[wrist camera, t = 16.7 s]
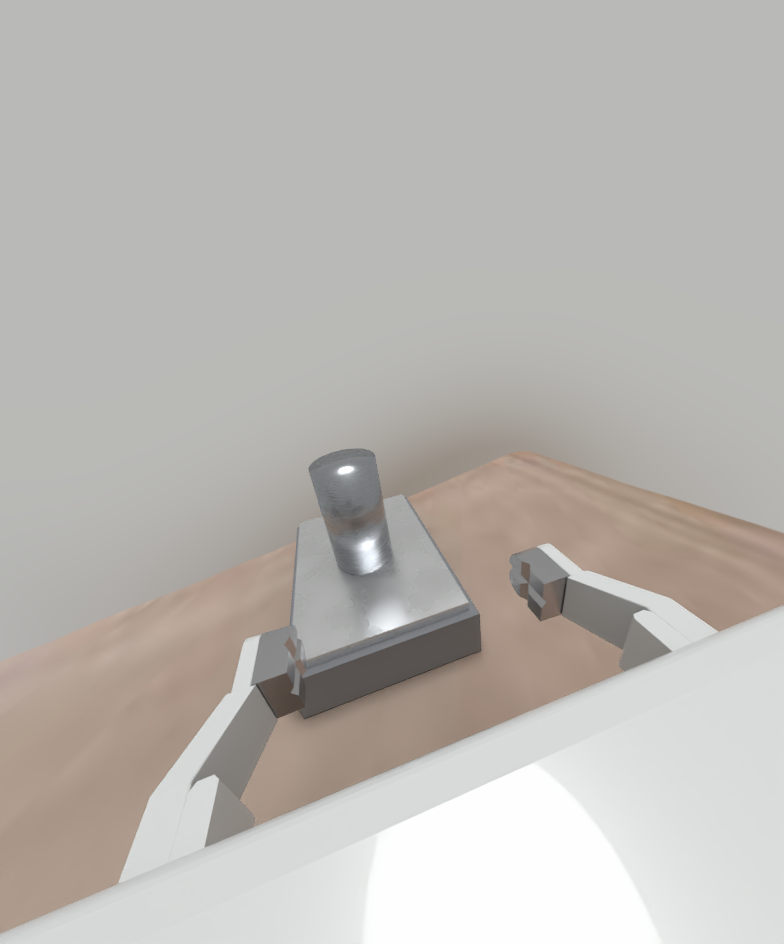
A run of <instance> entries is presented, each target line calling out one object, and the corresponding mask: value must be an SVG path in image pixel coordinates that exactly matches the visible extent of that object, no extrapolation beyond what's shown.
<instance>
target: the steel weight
mask: <svg viewBox="0 0 784 944" xmlns="http://www.w3.org/2000/svg"><path fill="white" fill-rule="evenodd" d="M309 473H310V476H311V479H312V483H313V486H314V489H315V493H316V496H317V499H318V503H319V506H320V509H321V512H322V516H323V519H324V523H325V526H326V529H327V532H328V536H329V539H330V542H331V546H332V549H333V552H334V556H335V559H336V562H337V565H338V567H339V568H340V569H341V570H342V571H344V572H346V573H348V574H352V575H363V574H368V573H371V572H374V571H376V570H378V569H379V568H381V567H382V566H384V565H385V564H386V563H387V562H388V560H389V559H390V557H391V554H392V546H391V540H390V535H389V529H388V524H387V518H386V513H385V508H384V502H383V497H382V491H381V486H380V481H379V475H378V470H377V464H376V459H375V455H374V453H373V452H371V451H369V450H366V449H346V450H340V451H337V452H333V453H330V454H327V455H325V456H322V457H320V458H318V459H317V460H315V461H314V462H313V463H312V464H311V465H310V467H309Z"/></svg>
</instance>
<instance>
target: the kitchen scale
mask: <svg viewBox="0 0 784 944" xmlns="http://www.w3.org/2000/svg"><path fill="white" fill-rule="evenodd" d="M383 502H384V508H385V513H386V518H387V524H388V529H389V535H390V540H391V546H392V554H391V557H390V559H389V560H388V562H387V563H386V564H385V565H384V566H382V567H381V568H379V569H378V570H376V571H374V572H371V573H368V574H363V575H352V574H348V573H346V572H344V571H342V570H341V569H340V568H339V567H338V565H337V562H336V559H335V556H334V552H333V549H332V546H331V542H330V539H329V536H328V532H327V529H326V526H325V523H324V519H323V517H319V518H316V519H312V520H308V521H305V522H301V523H300V527H298V530H297V542H296V554H295V566H294V578H293V591H292V603H291V615H290V626H291V625H294V626H295V628H296V630H297V638H298V639H300V640H302V643H303V645H304V649H305V655H306V671H305V673H304V675H303V676H302V678H303V680H304V682H305V684H306V691H305V708H302V709H300V712H301V714H302V715H303V717H304V719H305V718H308V717H310V716H313V715H315V714H318V713H321V712H323V711H326V710H328V709H331V708H334V707H336V706H339V705H341V704H344V703H346V702H349V701H352V700H354V699H357V698H359V697H362V696H364V695H367V694H370V693H372V692H375V691H377V690H380V689H383V688H385V687H388V686H390V685H393V684H395V683H398V682H401V681H403V680H406V679H408V678H411V677H413V676H416V675H419V674H421V673H424V672H426V671H429V670H432V669H434V668H437V667H439V666H442V665H444V664H447V663H450V662H452V661H455V660H457V659H460V658H462V657H465V656H468V655H470V654H473V653H475V652H478V651H481V633H480V614H479V612H478V610H477V609H476V607H475V606H474V604H473V602H472V601H471V599H470V598H469V596H468V595H467V593H466V591H465V590H464V588H463V587H462V585H461V583H460V582H459V580H458V579H457V577H456V575H455V574H454V572H453V571H452V569H451V567H450V566H449V564H448V563H447V561H446V559H445V558H444V556H443V555H442V553H441V552H440V550H439V548H438V547H437V545H436V544H435V542H434V540H433V539H432V537H431V536H430V534H429V532H428V531H427V529H426V528H425V526H424V524H423V523H422V521H421V520H420V518H419V517H418V515H417V513H416V512H415V510H414V509H413V507H412V505H411V504H410V502H409V501H408V499H407V497H404V496H403V494H401V495H398V496H395V497H391V498H387V499H383Z"/></svg>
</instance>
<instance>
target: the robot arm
mask: <svg viewBox="0 0 784 944" xmlns="http://www.w3.org/2000/svg"><path fill="white" fill-rule="evenodd" d="M510 563H511V565H512V566H513V567H512V569H511V570H510V581H511V584H512V586H513V588H514V590H515V591H516V592H517V594H518V595H519V596H520V597H522V598H524V599H527V602H528V607H529V608H530V609H531V611H532V612H533V613H534V614H535V615H536V617H537V618H538V619H539V620H540V621H543V620H546V619H549V618H552V617H555V616H558V615H561V614H562V616H564V617H565V618H567V619H569V620H571V621H572V622H574V623H576V624H578V625H580V626H581V627H583V628H585V629H587V630H589V631H590V632H592V633H594V634H596V635H597V636H599V637H601V638H603V639H605V640H606V641H608V642H610V643H612V644H614V645H615V646H617V647H619V648H621V649H622V653H621V657H620V660H619V666H620V667H621V669H622V670H623V671H624V672H622V673H620V674H617V675H615V676H612V677H610V678H608V679H605V680H603V681H600V682H598V683H596V684H593V685H591V686H589V687H586V688H584V689H581V690H579V691H577V692H574V693H572V694H569V695H567V696H565V697H562V698H560V699H557V700H555V701H553V702H550V703H548V704H546V705H543V706H541V707H538V708H536V709H534V710H531V711H529V712H526V713H524V714H522V715H519V716H517V717H515V718H512V719H510V720H507V721H505V722H503V723H500V724H498V725H495V726H493V727H491V728H488V729H486V730H484V731H481V732H479V733H476V734H474V735H472V736H469V737H467V738H465V739H462V740H460V741H457V742H455V743H453V744H450V745H448V746H445V747H443V748H441V749H438V750H436V751H434V752H431V753H429V754H426V755H424V756H422V757H419V758H417V759H415V760H412V761H410V762H407V763H405V764H403V765H400V766H398V767H395V768H393V769H391V770H388V771H386V772H384V773H381V774H379V775H376V776H374V777H372V778H369V779H367V780H364V781H362V782H360V783H357V784H355V785H353V786H350V787H348V788H345V789H343V790H341V791H338V792H336V793H334V794H331V795H329V796H326V797H324V798H322V799H319V800H317V801H314V802H312V803H310V804H307V805H305V806H303V807H300V808H298V809H295V810H293V811H291V812H288V813H286V814H283V815H281V816H279V817H276V818H274V819H272V820H269V821H267V822H264V823H262V824H260V825H257V826H255V827H254V822H255V816H254V815H253V814H252V812H251V811H250V810H249V809H248V808H247V807H246V806H245V805H244V804H243V803H242V802H241V801H240V798H241V796H242V794H243V791H244V789H245V787H246V785H247V783H248V781H249V779H250V777H251V775H252V773H253V771H254V769H255V766H256V764H257V762H258V760H259V758H260V756H261V754H262V752H263V750H264V748H265V746H266V743H267V741H268V739H269V737H270V735H271V733H272V731H273V729H274V727H275V725H276V723H277V718H280V717H282V716H285V715H287V714H290V713H292V712H295V711H297V710H300V709H302V708H305V691H306V684H305V682H304V680H303V678H302V676H303V675H304V673H305V671H306V655H305V649H304V645H303V643H302V640H300V639H298V638H297V630H296V628H295V626H294V625H291V626H287V627H284V628H281V629H277V630H274V631H270V632H267V633H263V634H261V635H257V636H254V637H251V638H247V639H246V640H245V642H244V644H243V646H242V650H241V654H240V659H239V663H238V667H237V671H236V675H235V679H234V683H233V687H232V691H231V693H229V694H227V695H225V697H224V698H223V699H222V701H221V702H220V703H219V705H218V706H217V707H216V709H215V710H214V712H213V713H212V714H211V716H210V717H209V718H208V720H207V721H206V722H205V724H204V725H203V726H202V728H201V729H200V730H199V732H198V733H197V734H196V736H195V737H194V739H193V740H192V741H191V743H190V744H189V745H188V747H187V748H186V749H185V751H184V752H183V753H182V755H181V756H180V757H179V759H178V760H177V761H176V763H175V764H174V766H173V767H172V768H171V770H170V771H169V772H168V774H167V775H166V776H165V778H164V779H163V780H162V782H161V783H160V784H159V786H158V787H157V788H156V790H155V791H154V793H153V794H152V795H151V797H150V799H149V801H148V804H147V807H146V809H145V812H144V815H143V818H142V820H141V823H140V826H139V828H138V831H137V834H136V836H135V839H134V842H133V845H132V847H131V850H130V853H129V855H128V858H127V861H126V863H125V866H124V869H123V872H122V874H121V877H120V880H119V882H118V884H117V885H114V886H112V887H109V888H107V889H105V890H102V891H100V892H97V893H95V894H93V895H90V896H88V897H86V898H83V899H81V900H78V901H76V902H74V903H71V904H69V905H67V906H64V907H62V908H59V909H57V910H55V911H52V912H50V913H47V914H45V915H43V916H40V917H38V918H36V919H33V920H31V921H28V922H26V923H24V924H21V925H19V926H17V927H14V928H12V929H9V930H7V931H5V932H2V933H0V944H784V605H782V606H779V607H777V608H775V609H772V610H770V611H767V612H765V613H763V614H760V615H758V616H756V617H753V618H751V619H748V620H746V621H744V622H741V623H739V624H736V625H734V626H732V627H729V628H727V629H725V630H722V631H720V632H718V631H716V630H715V629H713V628H712V627H711V626H709V625H708V624H706V623H705V622H703V621H702V620H701V619H699V618H698V617H696V616H695V615H693V614H692V613H691V612H689V611H688V610H686V609H685V608H684V607H682V606H681V605H679V604H678V603H676V602H675V601H674V600H672V599H671V598H668V597H665V596H662V595H659V594H656V593H653V592H650V591H647V590H644V589H641V588H638V587H635V586H632V585H629V584H626V583H623V582H620V581H617V580H614V579H612V578H609V577H606V576H603V575H600V574H597V573H594V572H591V571H588V570H587V571H583V570H582V569H580V568H579V567H578V566H577V565H575V564H574V563H573V562H572V561H571V560H569V559H568V558H567V557H566V556H564V555H563V554H562V553H561V552H560V551H558V550H557V549H556V548H555V547H553V546H552V545H551V544H548V543H546V544H543V545H540V546H537V547H533V548H530V549H527V550H524V551H521V552H518V553H515V554H512V555H511V557H510Z"/></svg>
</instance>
